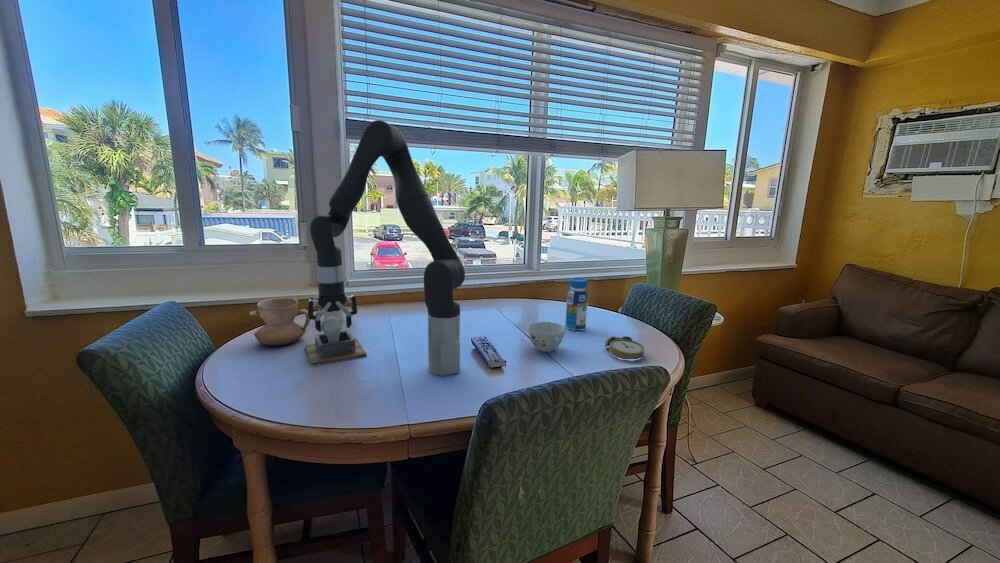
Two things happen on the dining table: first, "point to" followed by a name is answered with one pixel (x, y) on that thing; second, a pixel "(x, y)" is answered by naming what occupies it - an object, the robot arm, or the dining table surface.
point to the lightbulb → (332, 328)
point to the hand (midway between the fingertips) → (334, 329)
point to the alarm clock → (624, 347)
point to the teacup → (546, 335)
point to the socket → (334, 349)
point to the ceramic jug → (279, 321)
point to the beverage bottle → (576, 304)
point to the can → (335, 314)
